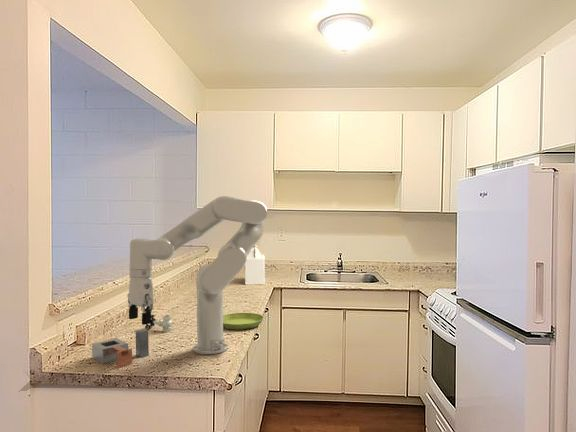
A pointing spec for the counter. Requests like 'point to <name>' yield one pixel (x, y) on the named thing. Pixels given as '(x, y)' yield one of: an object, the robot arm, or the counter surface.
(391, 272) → the counter surface
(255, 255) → the gable box
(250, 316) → the saucer
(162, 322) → the valve
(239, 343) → the counter surface
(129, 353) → the square sleeve with handle
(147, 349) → the square peg
